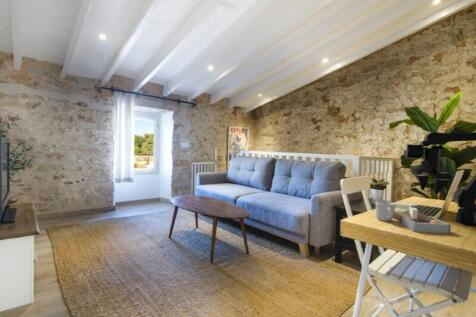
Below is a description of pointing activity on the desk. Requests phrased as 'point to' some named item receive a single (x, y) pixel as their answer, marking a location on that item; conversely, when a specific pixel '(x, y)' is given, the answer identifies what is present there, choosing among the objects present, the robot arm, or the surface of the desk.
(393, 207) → the cup
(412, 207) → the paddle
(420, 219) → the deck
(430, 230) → the bin
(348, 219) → the desk surface
